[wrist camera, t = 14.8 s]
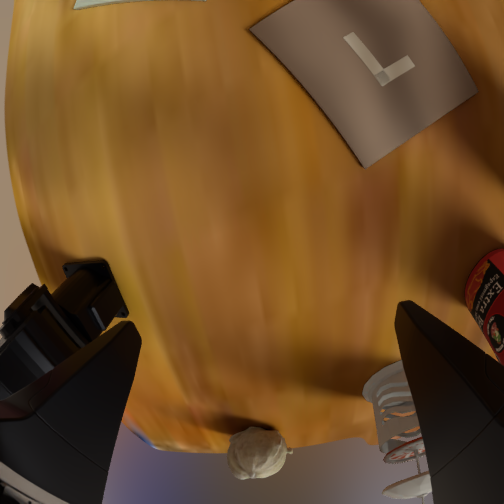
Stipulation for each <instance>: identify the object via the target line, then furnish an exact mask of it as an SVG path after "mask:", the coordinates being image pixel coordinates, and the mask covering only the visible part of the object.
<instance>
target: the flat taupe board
mask: <svg viewBox="0 0 504 504" xmlns="http://www.w3.org/2000/svg"><path fill="white" fill-rule="evenodd" d="M249 30H250V31H251V32H252V33H253V34H254V35H255V36H256V37H257V38H258V39H259V40H260V41H261V42H262V43H263V44H264V45H265V46H266V47H267V48H268V49H269V50H270V51H271V52H272V53H273V54H274V55H275V56H276V57H277V58H278V59H279V60H280V61H281V62H282V63H283V64H284V66H285V67H286V68H287V69H288V70H289V71H290V72H291V73H292V74H293V75H294V77H295V78H296V79H297V80H298V81H299V82H300V83H301V85H302V86H303V87H304V88H305V89H306V91H307V92H308V93H309V94H310V95H311V97H312V98H313V99H314V100H315V101H316V103H317V104H318V105H319V106H320V108H321V109H322V110H323V111H324V113H325V114H326V115H327V117H328V118H329V119H330V121H331V122H332V123H333V125H334V126H335V127H336V129H337V130H338V131H339V133H340V134H341V135H342V137H343V138H344V140H345V141H346V142H347V144H348V145H349V147H350V148H351V150H352V151H353V153H354V154H355V155H356V157H357V158H358V160H359V161H360V163H361V164H362V166H363V168H364V169H366V168H368V167H369V166H371V165H372V164H374V163H375V162H377V161H378V160H379V159H381V158H382V157H384V156H385V155H387V154H388V153H390V152H391V151H393V150H394V149H395V148H397V147H398V146H400V145H401V144H403V143H404V142H406V141H407V140H409V139H410V138H412V137H413V136H414V135H416V134H417V133H419V132H420V131H422V130H423V129H425V128H426V127H428V126H429V125H431V124H432V123H433V122H435V121H436V120H438V119H439V118H441V117H442V116H444V115H445V114H447V113H448V112H450V111H451V110H453V109H454V108H456V107H457V106H458V105H460V104H461V103H463V102H464V101H466V100H467V99H469V98H470V97H472V96H473V95H475V94H476V93H478V92H479V91H478V89H477V87H476V85H475V83H474V82H473V80H472V78H471V76H470V74H469V72H468V70H467V69H466V67H465V65H464V63H463V62H462V60H461V58H460V57H459V55H458V54H457V52H456V50H455V49H454V47H453V46H452V44H451V43H450V41H449V40H448V38H447V37H446V35H445V34H444V32H443V31H442V30H441V28H440V27H439V25H438V24H437V23H436V21H435V20H434V19H433V17H432V16H431V15H430V14H429V12H428V11H427V10H426V8H425V7H424V6H423V5H422V4H421V2H420V1H419V0H294V1H292V2H291V3H289V4H287V5H286V6H284V7H282V8H281V9H279V10H277V11H276V12H274V13H273V14H271V15H270V16H268V17H266V18H265V19H263V20H262V21H260V22H259V23H258V24H256V25H255V26H253V27H252V28H250V29H249Z"/></svg>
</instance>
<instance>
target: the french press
mask: <svg viewBox="0 0 504 504" xmlns="http://www.w3.org/2000/svg"><path fill="white" fill-rule="evenodd" d="M362 394H363V396H364V398H365V399H366V400H367V401H369V402H371V403H373V409H374V415H375V421H376V428H377V434H378V442H379V449H380V451H381V452H383V453H387V454H386V456H385V457H384V459H383V460H384V462H385V463H389V464H390V463H391V464H394V463H395V464H396V463H401V462H402V463H403V462H405V461H407V462H408V460H412V461H413V459H416V460H417V467H418V473H419V474H418V475H415V476H412V477H410V478H407V479H404V480H401V481H398V482H396V483H394V484H391V485H389V486H387V487H386V488H385V489H384V490H383V492H382V494H383V495H385V496H388V497H390V498H394V499H407V498H415V497H418V498H422V504H424V496H426V495H427V494H428V493H430V492H431V491H432V487H431V481H430V478H431V477H430V474H429V471H426V472H423V473H420V467H419V460H418V458H419V457H422V456H423V455H426V452H425V448H424V443H423V438H422V437H420V438H417V439H414V440H412V441H409V442H405V441H400V440H394V439H390V438H392V437H394V436H400V437H405V438H409V437H414V436H417V435H419V434H420V433H421V430H420V429H419V430H417V431H416V432H411V433H402V432H405V431H407V430H410V429H412V428H415V427H417V426H419V422H418V418H417V414H416V412H415V413H414V414H413V415H410V416H405V417H400V416H395V415H392V414H391V413H394V412H398V413H407V412H411V411H416V410H415V406H414V402H413V399H412V395H411V392H410V388H409V385H408V382H407V378H406V375H405V372H404V368H403V364H402V360H400V361H398V362H396V363H393V364H391V365H389V366H386V367H384V368H383V369H382V370H380V371H379V372H377V373H376V374H374V375H373V376H372V377H371V378H370V379H369V380H368V381H367V383H366V384H365V385H364V388H363V393H362ZM382 409H385V411H384V412H380V411H381V410H382ZM385 417H386V418H390V419H389V420H387V421H383V419H384V418H385ZM382 425H383V426H382Z"/></svg>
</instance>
